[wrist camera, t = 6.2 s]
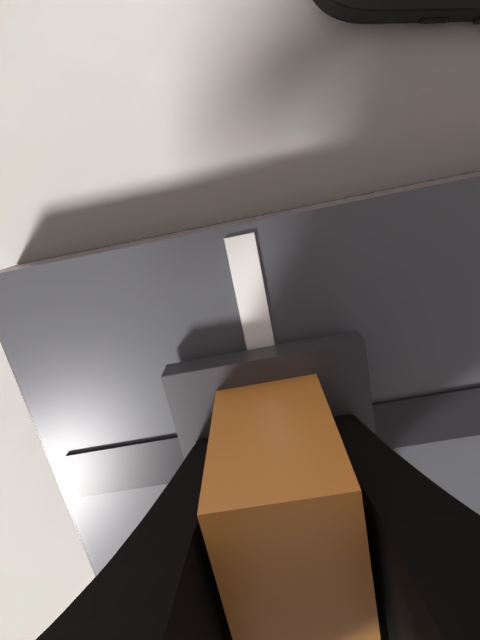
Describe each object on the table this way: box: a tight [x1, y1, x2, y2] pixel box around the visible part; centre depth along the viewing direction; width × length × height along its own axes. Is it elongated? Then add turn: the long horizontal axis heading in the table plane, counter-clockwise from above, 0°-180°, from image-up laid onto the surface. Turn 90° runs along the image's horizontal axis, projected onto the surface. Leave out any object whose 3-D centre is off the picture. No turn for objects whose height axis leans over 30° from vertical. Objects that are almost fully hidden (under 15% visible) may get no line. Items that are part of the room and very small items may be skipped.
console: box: [0, 171, 480, 577], centre depth 10 cm, size 20×10×2 cm, turn 101°
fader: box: [161, 331, 381, 640], centre depth 7 cm, size 4×5×4 cm
